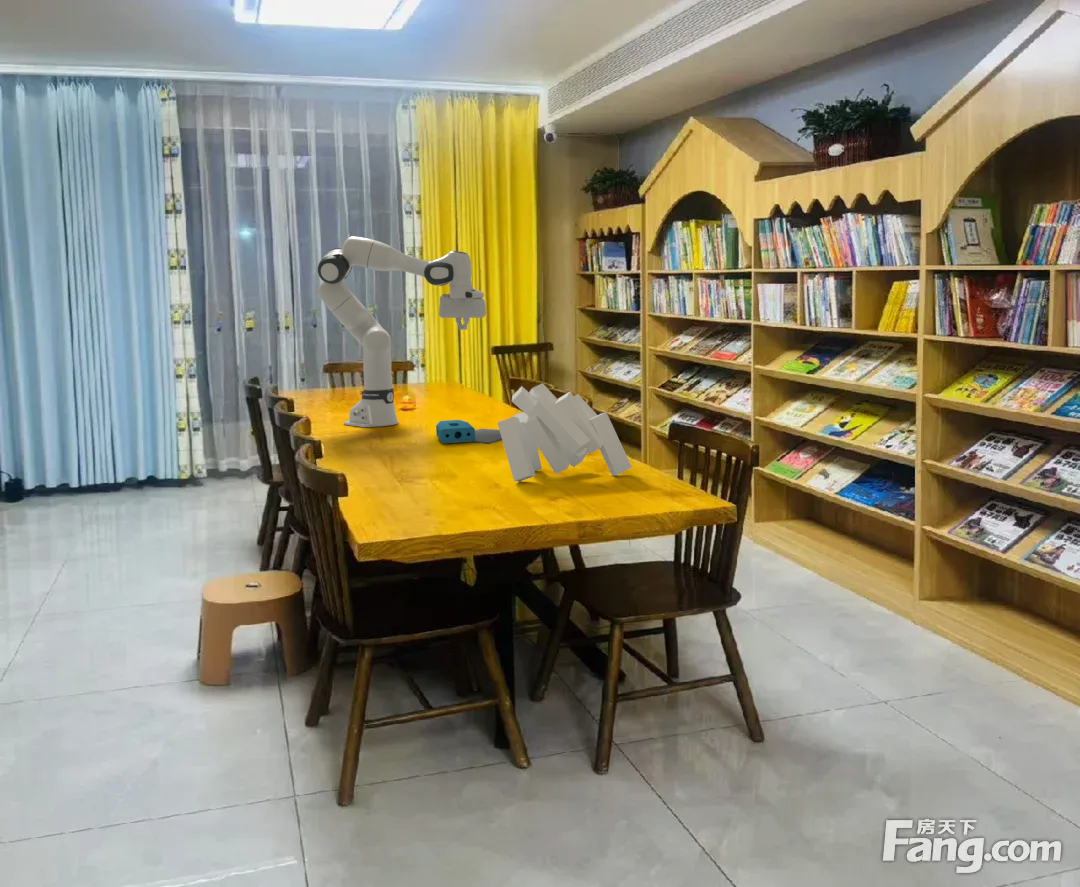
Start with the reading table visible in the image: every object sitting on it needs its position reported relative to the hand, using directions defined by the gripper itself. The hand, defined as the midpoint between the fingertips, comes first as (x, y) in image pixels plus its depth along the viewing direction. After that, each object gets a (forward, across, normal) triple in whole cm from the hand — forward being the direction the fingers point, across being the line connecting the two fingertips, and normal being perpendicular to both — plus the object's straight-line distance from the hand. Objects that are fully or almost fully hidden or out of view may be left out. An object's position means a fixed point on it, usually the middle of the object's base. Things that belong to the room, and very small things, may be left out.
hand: (462, 329), depth 403 cm
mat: (+37, +24, -22) cm, 49 cm away
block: (+34, +10, -24) cm, 43 cm away
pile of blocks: (+38, +86, -72) cm, 118 cm away
